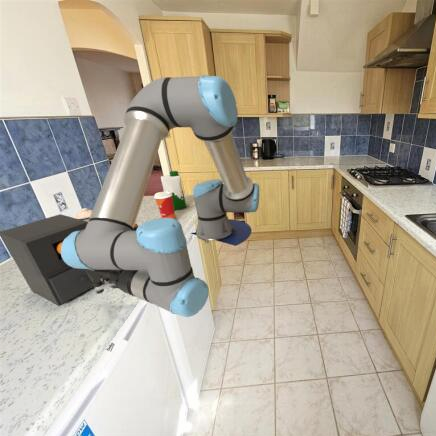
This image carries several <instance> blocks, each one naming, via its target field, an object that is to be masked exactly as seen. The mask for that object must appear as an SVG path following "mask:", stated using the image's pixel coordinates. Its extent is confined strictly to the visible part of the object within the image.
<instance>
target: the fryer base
mask: <svg viewBox="0 0 436 436" xmlns="http://www.w3.org/2000/svg"><path fill="white" fill-rule="evenodd" d="M16 266H17V268H18V270H19V271H20V273H21V275H22V277H23V279H24V280H25V282H26V284H27V285H28V287H29V289H30V290H31V292H33V293H34V294H36V295H38V296H40V297H41V298H43V299H46V300H48V302H49V301H50V302H51V303H52V304H54V305H56V306H58V307H60V306H62V305H64V304H66V303H67V302H69V301H71V300H73V299H75V298H77V297H78V296H80V295H82V294H84V293H86V292H88V291H89V290H91V289H93V288H94V286H93V287H92V288H90V289H88V290H86V291H84V292H82V293H81V294H79V295H77V296H75V297H73V298H72V299H70V300H68V301H66V302H64V303H61V302H60V300H59V298H58V297H57V295H56V293H55V291H54V289H53V287H52V285H51V283H50V281H49V278H50V277H52V276H55V275H57V274H59V273H61V272H63V271H66V270H68V269H70V268H72V267H71V266H67V267H65V268H63V269H60V270H58V271H56V272H54V273H51V274H49V275H47V276H45V277H42V276H40V275H38V274H36V273H34V272H32V271H30V270H28V269H26V268H24V267H22V266H20V265H18V264H16ZM108 280H109V278H108V279H106V281H108Z"/></svg>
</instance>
